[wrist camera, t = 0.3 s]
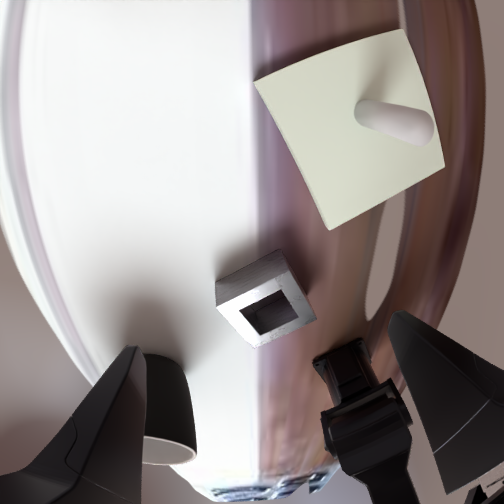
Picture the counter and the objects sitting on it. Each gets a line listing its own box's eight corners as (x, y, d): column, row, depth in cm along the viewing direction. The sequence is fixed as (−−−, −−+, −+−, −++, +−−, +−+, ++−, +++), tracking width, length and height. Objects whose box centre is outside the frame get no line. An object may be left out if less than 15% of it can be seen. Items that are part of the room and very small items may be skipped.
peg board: (437, 163, 21) (494, 194, 15) (324, 224, 22) (363, 277, 16) (395, 29, 14) (460, 22, 8) (252, 82, 16) (276, 77, 10)
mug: (148, 333, 26) (136, 427, 17) (211, 372, 30) (217, 455, 22) (90, 373, 29) (75, 446, 20) (146, 404, 33) (143, 471, 25)
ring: (307, 296, 26) (317, 319, 24) (249, 324, 27) (254, 348, 24) (280, 248, 23) (289, 270, 20) (214, 282, 24) (216, 307, 21)
